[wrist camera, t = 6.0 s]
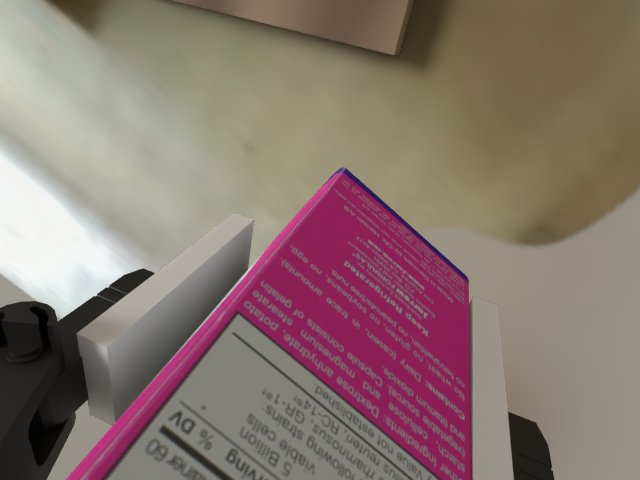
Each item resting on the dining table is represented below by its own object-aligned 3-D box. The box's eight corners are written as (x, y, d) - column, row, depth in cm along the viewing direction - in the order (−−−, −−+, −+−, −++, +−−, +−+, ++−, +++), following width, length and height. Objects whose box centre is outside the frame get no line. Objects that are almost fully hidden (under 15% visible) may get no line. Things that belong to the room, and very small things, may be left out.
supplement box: (366, 359, 16) (210, 831, 7) (255, 263, 16) (-76, 616, 6) (479, 280, 13) (492, 952, 4) (345, 158, 13) (-40, 540, 3)
